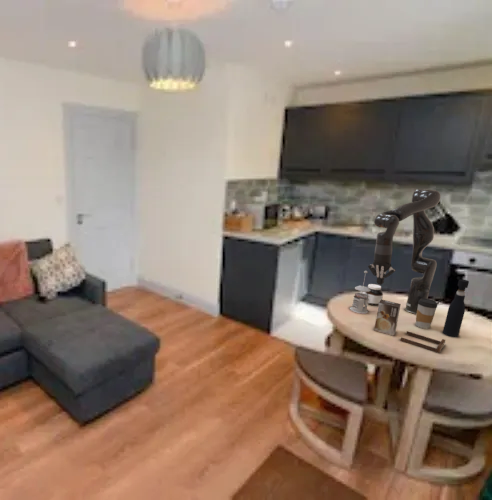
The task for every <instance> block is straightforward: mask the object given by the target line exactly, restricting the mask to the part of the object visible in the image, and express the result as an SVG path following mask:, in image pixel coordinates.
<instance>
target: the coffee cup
mask: <svg viewBox="0 0 492 500" xmlns="http://www.w3.org/2000/svg"><path fill="white" fill-rule="evenodd" d="M437 302H438V301H436V300H434V299H430V298H428V299H425V298H421V299H420V300H419V301H418V309H417V314H415V326H416V327H418V328H419V329H424V330H429V329H430V328H431V326H432V323H433V320H434V317H435V313H436V311H437V308H438V304H437Z"/></svg>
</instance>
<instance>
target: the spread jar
mask: <svg viewBox="0 0 492 500" xmlns="http://www.w3.org/2000/svg"><path fill="white" fill-rule="evenodd" d="M367 287H368V288H369V289H370V290H371V291H369V292H362V291H359V293H362V294H366V295H367V294H369V295H368V296H370V298H369V297H368V298H369V300H368V304H369V306H378V305H379V302H380V300H381V299H382V300H383V297H384V294H383V293H384V292H383V291H382V286H381V285H380V284H375V283H368V285H367ZM360 300H364V299H360ZM366 300H367V299H366ZM366 300H364V301H366ZM369 301H370V303H369Z"/></svg>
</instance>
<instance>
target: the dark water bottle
mask: <svg viewBox="0 0 492 500" xmlns="http://www.w3.org/2000/svg"><path fill="white" fill-rule="evenodd" d="M469 285H470V281H469V280H468V279H463V278H461V279H458V282H457V287H458V289H457V291H456V293H455V295H454V298H453V300H452V301H451V302H450V304H449V306H448V309H447V313H446V317H445V322H444V325H443V329H442V334H443V335H444V336H446V337H450V338H458V337H459V335H460V333H461V332H460V331H461V328H462V324H463V320H464V317H465V312H466V304H465V298H466V292H465V291H466V289H468V288H469Z"/></svg>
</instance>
